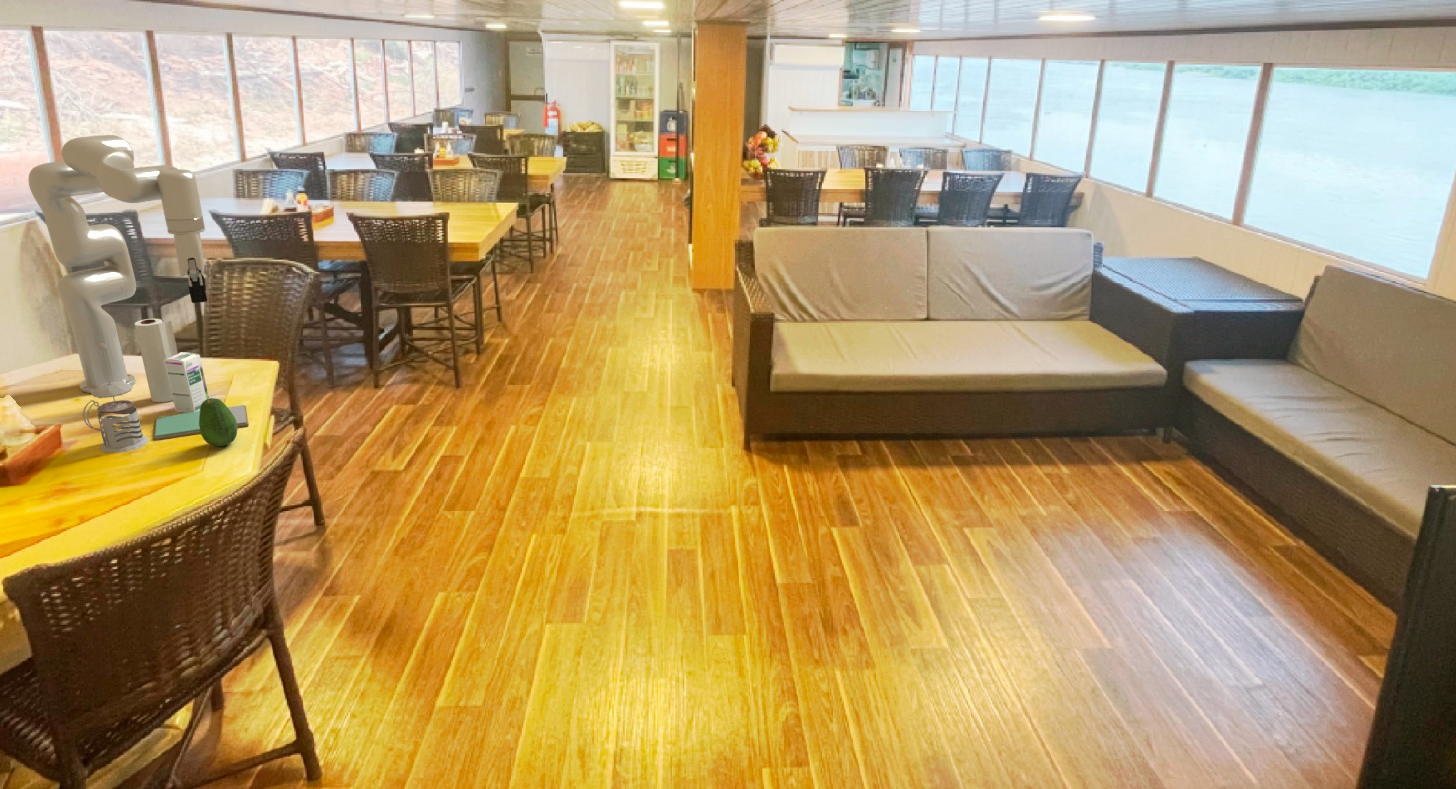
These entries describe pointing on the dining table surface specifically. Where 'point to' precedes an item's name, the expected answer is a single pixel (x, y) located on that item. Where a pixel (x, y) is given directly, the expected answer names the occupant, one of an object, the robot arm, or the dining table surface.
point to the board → (191, 423)
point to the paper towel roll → (156, 355)
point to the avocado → (217, 423)
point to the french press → (113, 438)
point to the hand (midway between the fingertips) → (199, 296)
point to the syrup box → (186, 381)
